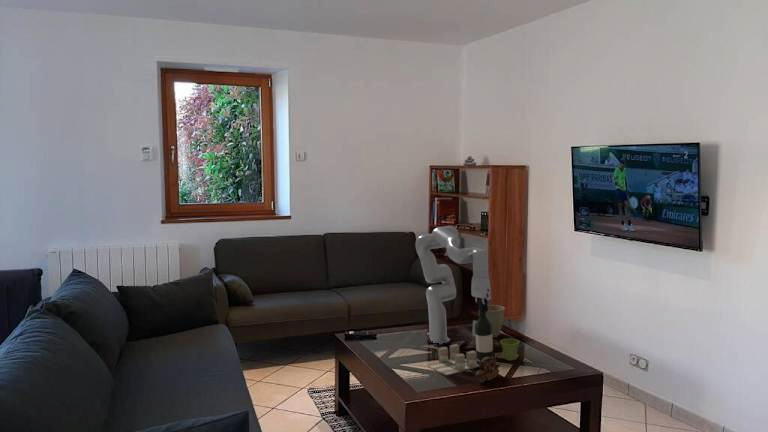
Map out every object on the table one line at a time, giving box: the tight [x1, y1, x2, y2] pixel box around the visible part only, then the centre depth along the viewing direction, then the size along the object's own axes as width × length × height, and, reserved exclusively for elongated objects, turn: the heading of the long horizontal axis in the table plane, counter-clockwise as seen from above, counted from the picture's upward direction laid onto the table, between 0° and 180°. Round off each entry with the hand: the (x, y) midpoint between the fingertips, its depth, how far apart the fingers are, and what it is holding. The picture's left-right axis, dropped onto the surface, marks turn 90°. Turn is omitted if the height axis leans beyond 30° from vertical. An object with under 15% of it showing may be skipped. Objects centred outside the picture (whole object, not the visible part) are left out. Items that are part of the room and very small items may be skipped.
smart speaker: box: [471, 320, 478, 347], centre depth 311 cm, size 10×9×14 cm
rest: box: [426, 343, 480, 376], centre depth 280 cm, size 16×20×8 cm
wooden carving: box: [474, 356, 501, 383], centre depth 260 cm, size 16×5×10 cm, turn 139°
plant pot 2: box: [499, 338, 520, 361], centre depth 287 cm, size 9×9×9 cm
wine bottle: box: [475, 298, 495, 361], centre depth 289 cm, size 8×8×30 cm
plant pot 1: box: [478, 304, 505, 338], centre depth 328 cm, size 15×15×16 cm
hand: (482, 310), depth 288 cm, fingers closed on wine bottle, 3 cm apart
